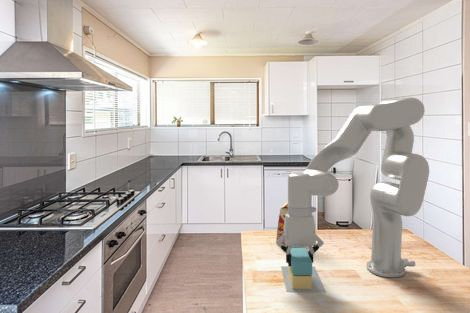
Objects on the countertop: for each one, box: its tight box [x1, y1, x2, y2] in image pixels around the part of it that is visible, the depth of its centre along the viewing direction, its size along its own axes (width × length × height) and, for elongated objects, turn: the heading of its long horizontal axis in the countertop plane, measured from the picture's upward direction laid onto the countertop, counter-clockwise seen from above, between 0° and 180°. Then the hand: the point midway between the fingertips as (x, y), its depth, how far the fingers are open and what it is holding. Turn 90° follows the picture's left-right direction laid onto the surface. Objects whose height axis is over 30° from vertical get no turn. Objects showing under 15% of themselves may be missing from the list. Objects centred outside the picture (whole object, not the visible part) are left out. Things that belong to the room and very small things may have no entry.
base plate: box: [280, 265, 327, 293], centre depth 111 cm, size 12×18×1 cm, turn 178°
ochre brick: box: [287, 264, 312, 289], centre depth 110 cm, size 12×6×4 cm, turn 178°
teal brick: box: [290, 247, 313, 275], centre depth 109 cm, size 12×6×4 cm, turn 178°
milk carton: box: [275, 201, 288, 246], centre depth 145 cm, size 9×9×20 cm
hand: (299, 264), depth 109 cm, fingers closed on teal brick, 5 cm apart
